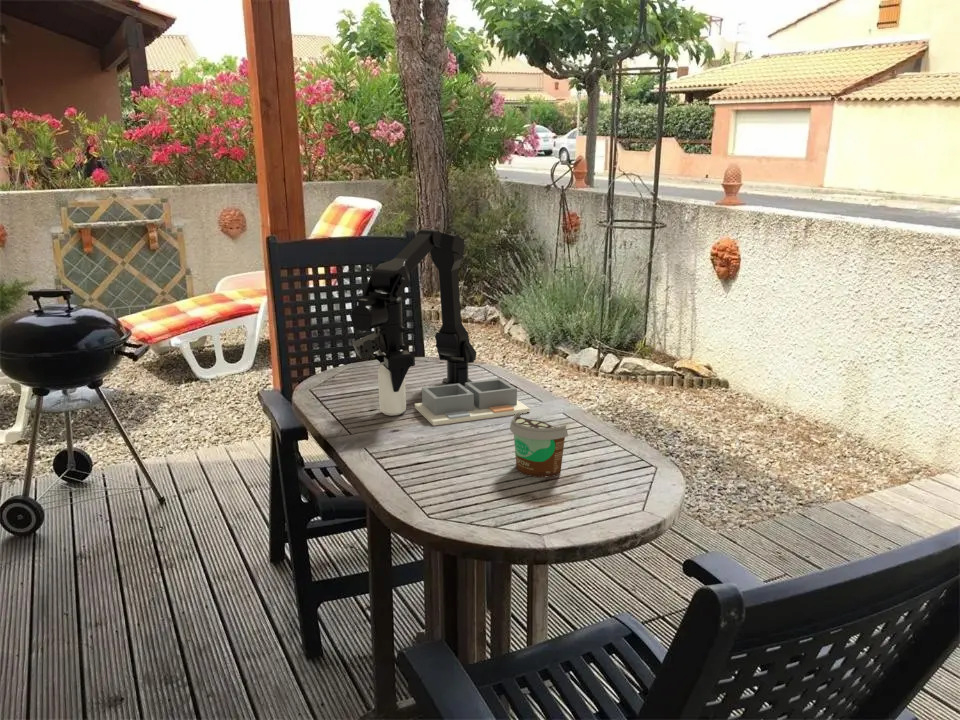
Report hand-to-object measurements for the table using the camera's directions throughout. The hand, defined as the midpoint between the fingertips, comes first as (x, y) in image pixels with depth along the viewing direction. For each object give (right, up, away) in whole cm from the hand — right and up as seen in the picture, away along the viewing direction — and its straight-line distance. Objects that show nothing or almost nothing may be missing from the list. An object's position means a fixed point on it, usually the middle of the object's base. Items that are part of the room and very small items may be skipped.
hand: (392, 387), depth 180 cm
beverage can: (0, -6, +1) cm, 6 cm away
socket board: (+19, -5, +4) cm, 20 cm away
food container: (+30, -15, -33) cm, 47 cm away
